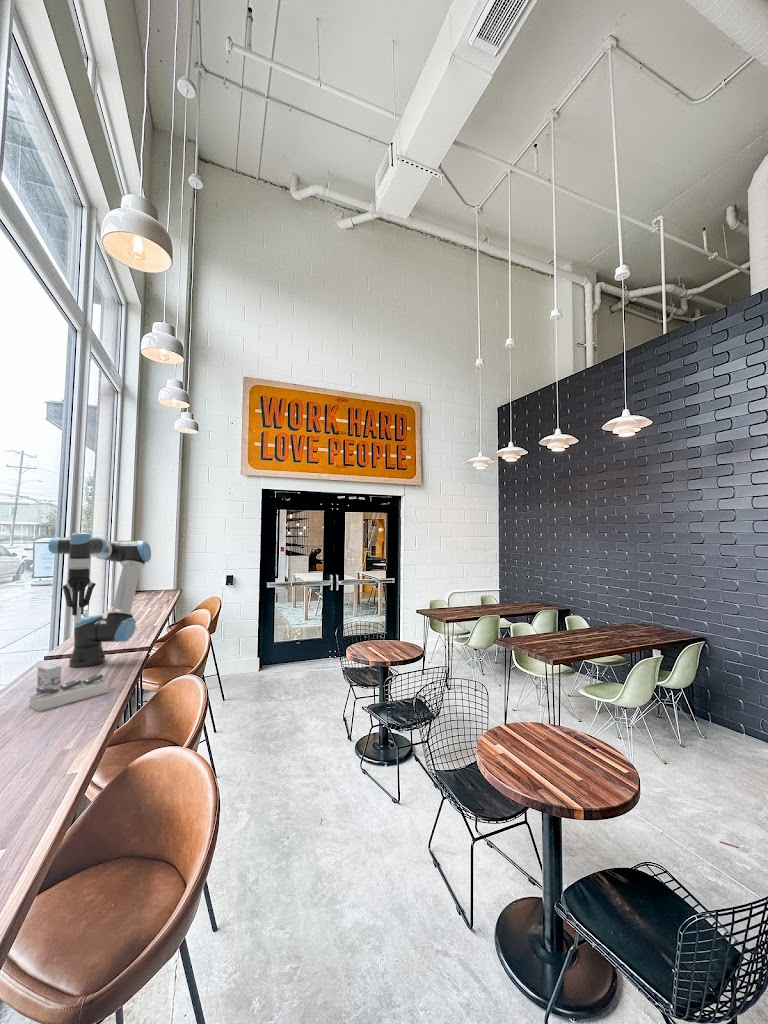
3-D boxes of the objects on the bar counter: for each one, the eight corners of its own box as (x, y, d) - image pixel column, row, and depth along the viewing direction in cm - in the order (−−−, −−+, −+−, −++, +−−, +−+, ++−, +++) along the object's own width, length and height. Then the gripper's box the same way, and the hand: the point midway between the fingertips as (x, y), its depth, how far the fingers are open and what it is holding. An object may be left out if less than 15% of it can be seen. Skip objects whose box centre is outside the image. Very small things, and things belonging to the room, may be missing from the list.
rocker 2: (77, 681, 179) (77, 678, 179) (81, 683, 177) (81, 680, 177) (60, 688, 174) (60, 685, 174) (64, 690, 172) (64, 687, 172)
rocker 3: (98, 675, 186) (98, 672, 186) (103, 677, 184) (102, 674, 184) (83, 683, 181) (82, 680, 181) (87, 684, 179) (86, 681, 179)
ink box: (35, 695, 179) (37, 665, 180) (49, 691, 184) (51, 662, 184) (47, 699, 175) (48, 668, 176) (61, 695, 180) (62, 665, 180)
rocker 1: (53, 690, 173) (54, 687, 173) (57, 692, 171) (59, 688, 171) (36, 691, 168) (37, 687, 168) (40, 693, 166) (41, 689, 166)
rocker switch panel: (98, 688, 188) (98, 677, 188) (108, 692, 184) (108, 680, 184) (29, 706, 168) (30, 694, 168) (38, 711, 163) (39, 698, 164)
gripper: (91, 567, 203) (89, 619, 202) (58, 568, 192) (56, 624, 191) (99, 567, 199) (97, 621, 198) (66, 569, 188) (64, 626, 187)
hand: (77, 622), depth 194 cm, fingers closed
